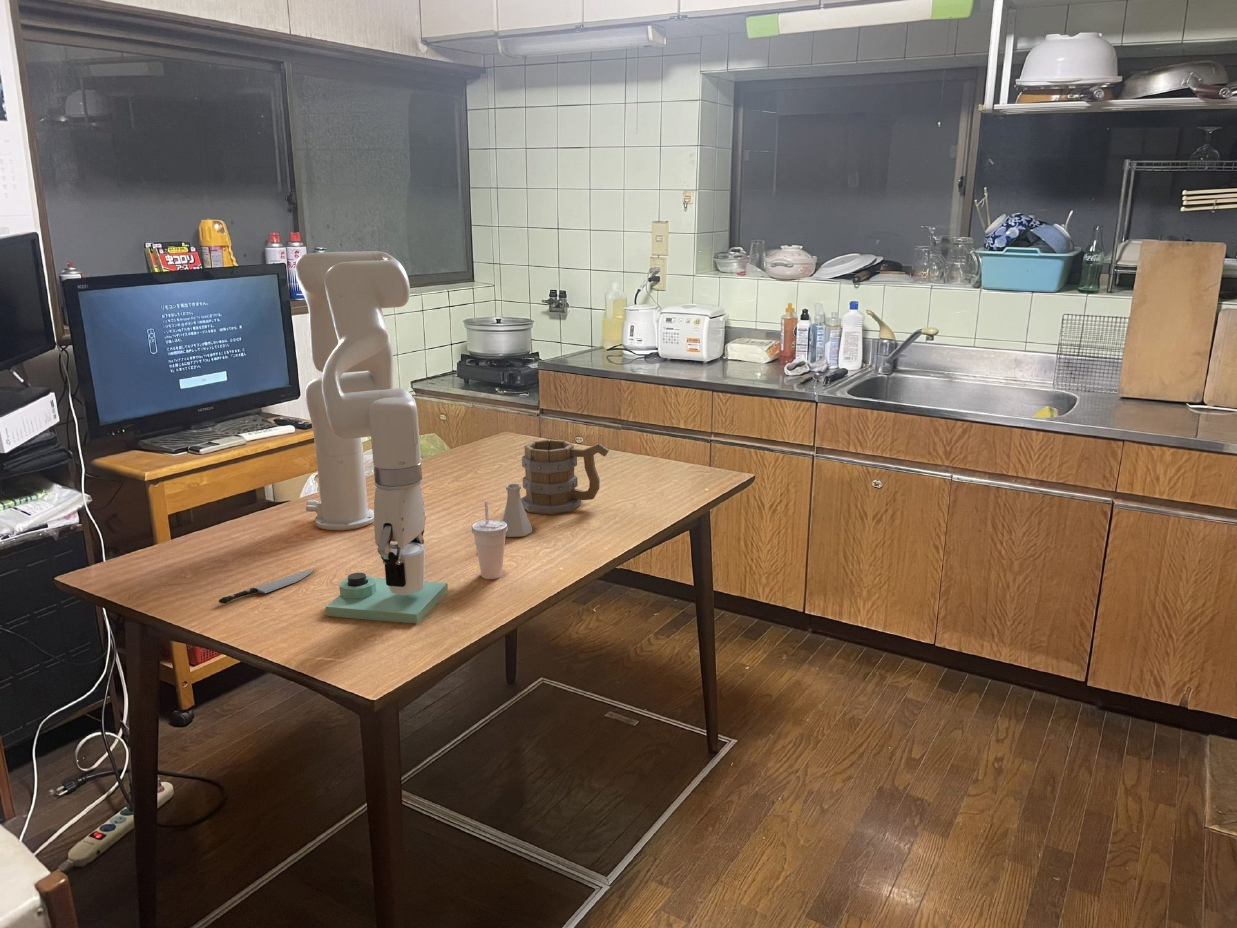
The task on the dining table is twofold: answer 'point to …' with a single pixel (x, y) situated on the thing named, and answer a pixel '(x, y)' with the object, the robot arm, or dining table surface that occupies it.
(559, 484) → the tankard
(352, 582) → the button
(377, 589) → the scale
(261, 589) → the chef's knife
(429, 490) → the dining table surface
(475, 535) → the smoothie
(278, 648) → the dining table surface
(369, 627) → the dining table surface
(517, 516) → the flask
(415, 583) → the white tapered cup
